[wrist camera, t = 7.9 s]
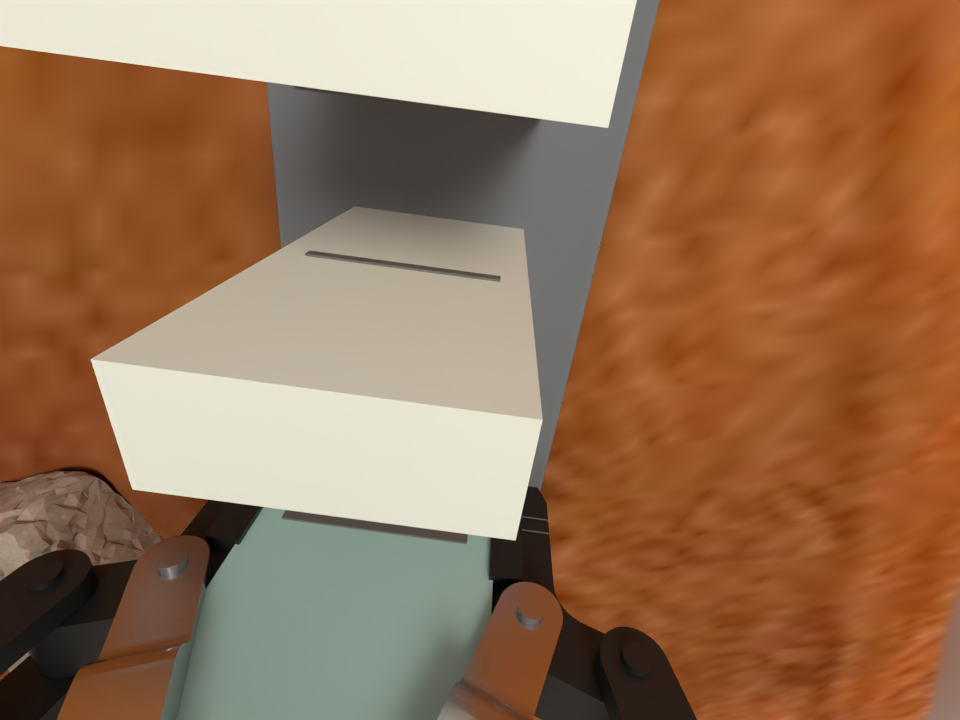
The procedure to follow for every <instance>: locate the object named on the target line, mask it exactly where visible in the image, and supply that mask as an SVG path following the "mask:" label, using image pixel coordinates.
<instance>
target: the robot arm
mask: <svg viewBox="0 0 960 720" xmlns="http://www.w3.org/2000/svg"><path fill="white" fill-rule="evenodd" d="M262 509H263V507H261V506H253V505H246V504H238V503H231V502H223V501H216V500H208V502H207V503H206V504H205V505H204V507H203V508H202V509H201V511H200V512H199V513H198V514H197V516H196V517H195V518H194V519H193V521H192V522H191V523H190V524H189V526H188V527H187V528H186V529H185V531H184V532H183V533H182V534H181V535H180V536H176V537H172V538H169V539H166V540H164V541H161V542H159V543H157V544H156V545H154V546H152V547H151V548H149V549H148V550H147V551H146V552H145V553H143V555H142V556H141V557H140V558H139V559H137V560H131V561H124V562H117V563H110V564H103V565H95V566H93V565H92V563H91V561H90V558H89V556H88V555H87V554H86V553H84V552H83V551H80V550H75V549H63V550H57V551H53V552H49V553H46V554H43V555H41V556H38V557H36V558H34V559H32V560H30V561H28V562H26V563H25V564H23V565H22V566H20V567H19V568H17V569H16V570H15V571H13V572H12V573H10V574H9V575H8V576H6V577H5V578H3V579H2V580H1V581H0V676H1V675H2V674H3V673H4V672H5V671H6V670H8V669H9V668H10V667H11V666H12V665H13V664H15V663H16V662H17V661H18V660H19V659H20V658H22V657H23V656H24V655H25V654H26V653H27V652H29V654H30V655H29V656H28V657H27V658H26V659H25V660H24V661H23V662H21V663H20V664H19V665H18V666H17V667H16V668H15V669H13V670H12V671H11V672H10V673H9V674H8V675H6V676H5V677H4V678H3V679H2V680H1V681H0V720H176V718H178V713H179V709H180V704H181V700H182V695H183V691H184V686H185V681H186V677H187V672H188V668H189V663H190V659H191V654H192V649H193V645H194V640H195V636H196V631H197V627H198V622H199V618H200V613H201V608H202V604H203V599H204V595H205V590H206V588H207V586H208V585H209V583H210V582H211V580H212V579H213V577H214V576H215V574H216V573H217V571H218V570H219V568H220V566H221V565H222V563H223V562H224V560H225V559H226V557H227V556H228V554H229V553H230V551H231V550H232V548H233V547H234V545H235V544H237V545H240V543H241V542H242V540H243V539H244V537H245V535H246V534H247V532H248V531H249V529H250V528H251V526H252V525H253V523H254V521H255V520H256V518H257V517H258V515H259V514H260V512H261V510H262ZM489 580H493V590H492V612H491V617H490V620H489V622H488V624H487V626H486V628H485V630H484V632H483V635H482V637H481V639H480V641H479V643H478V645H477V647H476V649H475V652H474V654H473V656H472V658H471V660H470V662H469V664H468V667H467V669H466V671H465V673H464V675H463V677H462V678H461V680H460V681H457V682H456V683H455V685H454V686H453V688H452V690H451V692H450V694H449V696H448V698H447V700H446V702H445V704H444V706H443V708H442V710H441V712H440V714H439V716H438V718H437V720H533V717H534V716H536V717H538V718H540V719H542V720H697V719H696V717H695V715H694V713H693V711H692V709H691V706H690V704H689V702H688V700H687V698H686V696H685V694H684V692H683V690H682V688H681V686H680V684H679V682H678V680H677V678H676V676H675V674H674V672H673V669H672V667H671V665H670V663H669V661H668V659H667V657H666V655H665V654H664V652H663V651H662V649H661V648H660V646H659V645H658V644H657V643H656V642H655V641H654V640H653V639H652V638H650V637H649V636H648V635H646V634H645V633H643V632H641V631H639V630H637V629H634V628H630V627H617V628H614V629H612V630H610V631H609V632H607V633H606V634H604V633H602V632H600V631H597V630H595V629H593V628H591V627H589V626H587V625H585V624H583V623H581V622H579V621H577V620H576V619H574V618H573V617H572V616H571V615H570V614H568V613H567V612H566V611H565V609H564V608H563V607H562V606H561V604H560V603H559V601H558V599H557V597H556V594H555V591H554V585H553V574H552V562H551V550H550V538H549V527H548V515H547V503H546V501H545V499H544V498H543V496H542V494H541V492H540V491H539V489H538V488H537V487H530V486H528V488H527V492H526V497H525V501H524V506H523V510H522V514H521V519H520V523H519V528H518V532H517V537H516V541H515V540H507V539H500V538H493V537H491V544H490V562H489Z"/></svg>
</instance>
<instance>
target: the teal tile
mask: <svg viewBox="0 0 960 720" xmlns="http://www.w3.org/2000/svg"><path fill="white" fill-rule="evenodd" d="M490 544H491V537H485V536H478V535H470V534H463V533H455V532H448V531H440V530H433V529H425V528H418V527H410V526H403V525H395V524H388V523H380V522H373V521H365V520H358V519H350V518H343V517H335V516H328V515H320V514H313V513H305V512H298V511H291V510H283V509H276V508H268V507H263V509H262V510H261V512H260V514H259V515H258V517H257V518H256V520H255V521H254V523H253V525H252V526H251V528H250V529H249V531H248V532H247V534H246V535H245V537H244V539H243V540H242V542H241V543H240V545H237V544H235V545H234V547H233V548H232V550H231V551H230V553H229V554H228V556H227V557H226V559H225V560H224V562H223V563H222V565H221V566H220V568H219V570H218V571H217V573H216V574H215V576H214V577H213V579H212V580H211V582H210V583H209V585H208V586H207V588H206V590H205V595H204V599H203V604H202V608H201V613H200V618H199V622H198V627H197V631H196V636H195V640H194V645H193V649H192V654H191V659H190V663H189V668H188V672H187V677H186V681H185V686H184V691H183V695H182V700H181V704H180V709H179V713H178V718H176V720H437V718H438V716H439V714H440V712H441V710H442V708H443V706H444V704H445V702H446V700H447V698H448V696H449V694H450V692H451V690H452V688H453V686H454V685H455V683H456V682H457V681H460V680H461V678H462V677H463V675H464V673H465V671H466V669H467V667H468V664H469V662H470V660H471V658H472V656H473V654H474V652H475V649H476V647H477V645H478V643H479V641H480V639H481V637H482V635H483V632H484V630H485V628H486V626H487V624H488V622H489V620H490V617H491V612H492V590H493V580H489V562H490Z"/></svg>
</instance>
